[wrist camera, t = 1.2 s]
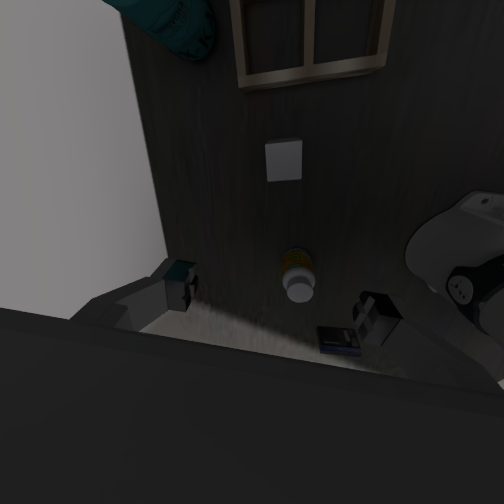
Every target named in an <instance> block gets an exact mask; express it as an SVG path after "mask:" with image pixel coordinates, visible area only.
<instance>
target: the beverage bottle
mask: <svg viewBox="0 0 504 504" xmlns="http://www.w3.org/2000/svg"><path fill="white" fill-rule="evenodd" d="M102 1H104V2H105V3H107V4H109V5H111V6H112V7H114V8H115V9H116V10H118V11H119V12H120V13H122V14H123V15H125V16H126V17H127V18H129V19H130V20H131V21H132V22H133V23H134V24H136V25H137V26H138V27H140V28H141V30H142V31H143V30H144V31H145V32H147V33H148V34H149V35H151V36H152V37H154V38H155V39H156V40H158V41H159V42H161V43H162V44H163V45H165V46H166V47H167V48H169V49H170V50H172V51H173V52H174V54H175V53H176V54H175V55H177V56H178V55H179V57H180V58H182V59H186V60H187V61H188V62H189V60H190V61H194V60H199V59H200V60H201V58H204V57H205V56H206V55H207V54H208V53H209V51H210V50H211V48H212V45H213V43H214V39H215V38H214V37H215V34H216V32H215V20H216V18H214V13H213V12H214V11H213V10H214V9H213V10H212V6H211V4H210V2H209V0H102ZM134 24H133V25H134ZM136 28H137V27H136ZM144 31H143V32H144ZM149 35H148V36H149ZM152 37H150V38H152ZM154 38H153V39H154ZM157 43H158V42H157ZM170 50H169V51H170ZM170 52H171V51H170ZM173 52H172V53H173ZM184 61H185V60H184ZM194 62H195V61H194Z"/></svg>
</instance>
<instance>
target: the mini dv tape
mask: <svg viewBox="0 0 504 504" xmlns="http://www.w3.org/2000/svg"><path fill="white" fill-rule="evenodd" d="M317 336H318V342H319V348H320V353H323V354H334V355H344V356H354V357H360V356H361V354H362V352H361V348H360V345H359V343H358V340H357V337H356V334H355V331H354V329H346V328H334V327H322V326H317Z"/></svg>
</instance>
